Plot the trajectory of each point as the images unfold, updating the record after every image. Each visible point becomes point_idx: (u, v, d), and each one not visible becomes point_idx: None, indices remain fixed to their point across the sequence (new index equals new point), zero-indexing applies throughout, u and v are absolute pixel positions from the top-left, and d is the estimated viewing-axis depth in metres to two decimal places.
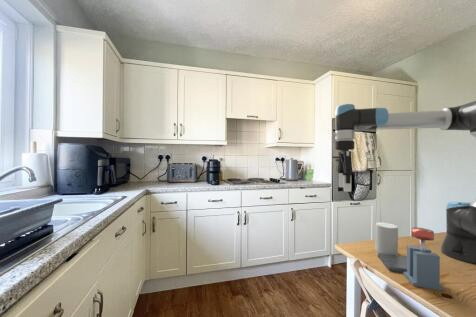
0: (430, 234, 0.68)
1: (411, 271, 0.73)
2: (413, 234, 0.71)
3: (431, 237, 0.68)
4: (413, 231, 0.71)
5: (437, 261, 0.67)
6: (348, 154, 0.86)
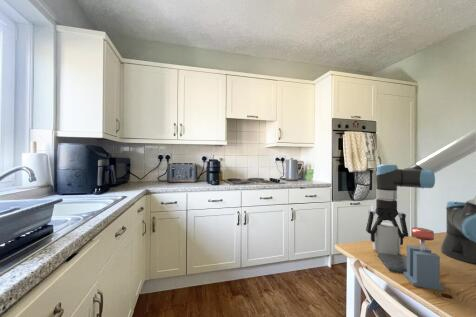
0: (430, 234, 0.68)
1: (411, 271, 0.73)
2: (413, 234, 0.71)
3: (431, 237, 0.68)
4: (413, 231, 0.71)
5: (437, 261, 0.67)
6: (369, 214, 0.96)
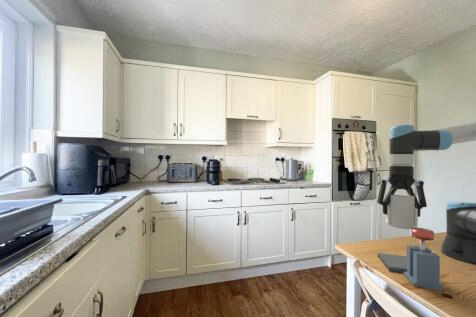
0: (430, 234, 0.68)
1: (411, 271, 0.73)
2: (413, 234, 0.71)
3: (431, 237, 0.68)
4: (413, 231, 0.71)
5: (437, 261, 0.67)
6: (381, 183, 0.84)
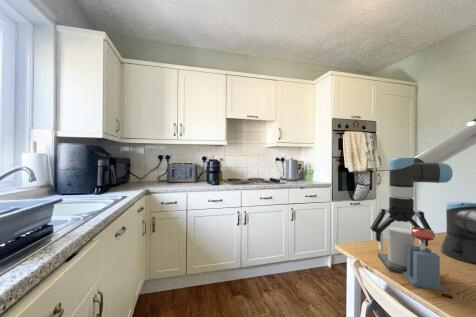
0: (430, 234, 0.68)
1: (411, 271, 0.73)
2: (413, 234, 0.71)
3: (431, 237, 0.68)
4: (413, 231, 0.71)
5: (437, 261, 0.67)
6: (380, 211, 0.84)
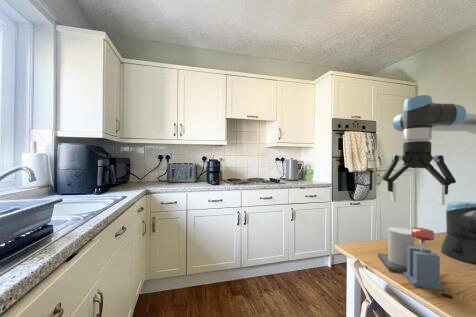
0: (430, 234, 0.68)
1: (411, 271, 0.73)
2: (413, 234, 0.71)
3: (431, 237, 0.68)
4: (413, 231, 0.71)
5: (437, 261, 0.67)
6: (393, 159, 0.76)
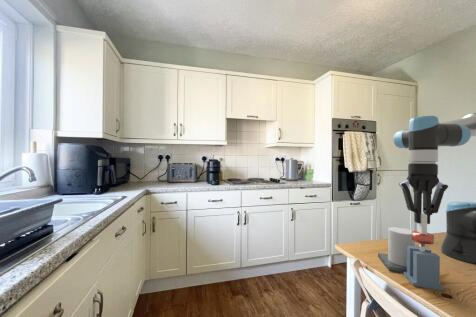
0: (430, 238, 0.68)
1: (411, 271, 0.73)
2: (413, 238, 0.71)
3: (431, 241, 0.68)
4: (413, 235, 0.71)
5: (437, 261, 0.67)
6: (402, 187, 0.73)
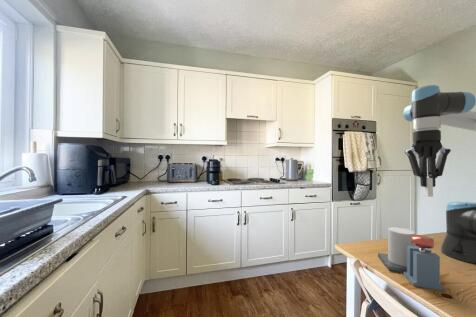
0: (430, 242, 0.68)
1: (411, 271, 0.73)
2: (413, 242, 0.71)
3: (431, 245, 0.68)
4: (413, 239, 0.71)
5: (437, 261, 0.67)
6: (408, 154, 0.77)
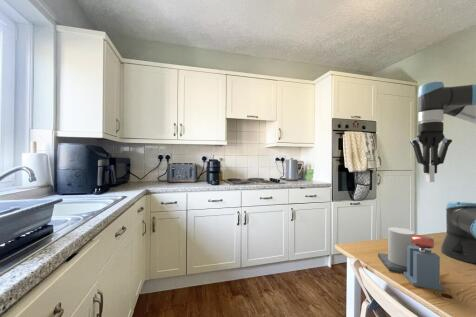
0: (430, 242, 0.68)
1: (411, 271, 0.73)
2: (413, 242, 0.71)
3: (431, 245, 0.68)
4: (413, 239, 0.71)
5: (437, 261, 0.67)
6: (413, 144, 0.86)
